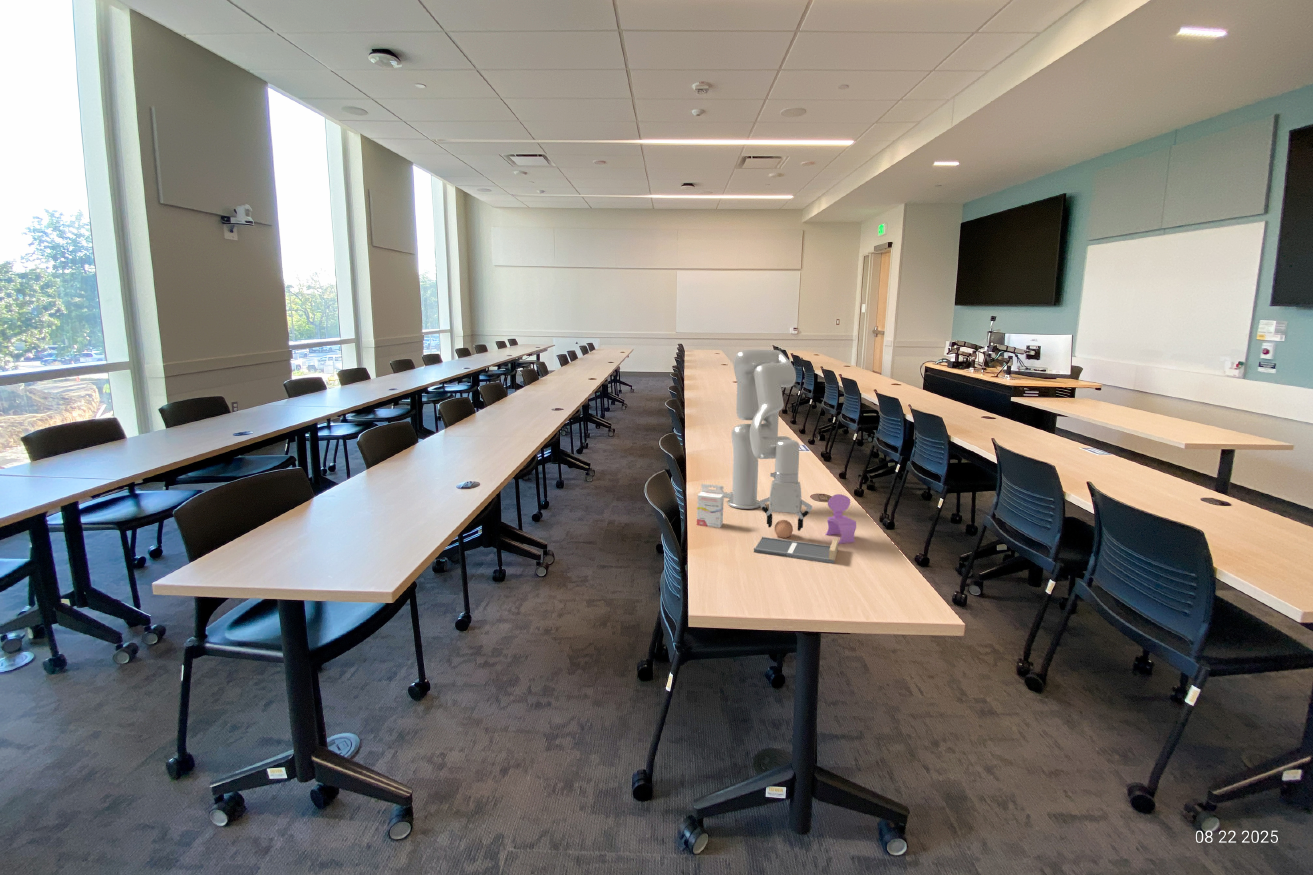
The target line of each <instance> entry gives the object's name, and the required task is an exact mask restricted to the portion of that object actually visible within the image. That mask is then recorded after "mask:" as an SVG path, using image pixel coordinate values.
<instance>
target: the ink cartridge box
mask: <svg viewBox="0 0 1313 875" xmlns="http://www.w3.org/2000/svg"><path fill="white" fill-rule="evenodd" d="M700 486H701V489H700V490H701V491H700V492H698V494H697V502H696V503H697V507H696V526H700V527H701V526H703V527H710V528H718V529H719V528H721V527H722V526H723V523H724V500H725V498H724V494H723V492H724V485H721V484H720V485H719V484H718V485H717V484H711V483H710V484H709V483H701V485H700ZM711 488H713V489H711Z"/></svg>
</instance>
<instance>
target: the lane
mask: <svg viewBox="0 0 1313 875" xmlns="http://www.w3.org/2000/svg"><path fill="white" fill-rule="evenodd" d="M838 543H839V538H838V537H833V539H832V541H831V544H830V545H827V544H821V543H819V544H818V543H813V542H803V541H796V540H790V539H784V538H783V539H782V538H774V537H767V536H761V539H760V540H759V542H758V543H757V545H756V546H755V547H754V548H753V553H758V554H764V555H770V556H771V555H772V556H778V557H786V558H791V559H792V558H793V559H799V560H806V561H811V562H818V563H819V562H821V563H827V564H832V565H833V564H834V563H835V561H836V557H837V553H838V550H839V544H838Z"/></svg>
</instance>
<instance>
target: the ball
mask: <svg viewBox="0 0 1313 875" xmlns="http://www.w3.org/2000/svg"><path fill="white" fill-rule="evenodd" d="M793 528H794V527H793V524H792V523H791V522H790V521H788V520H786V519H780V520H778V521H777V522H776V523H775V525H774V533H775V534H776V535H777V537H778V538H781V539H782V538H783V539H785V538H789V537H790V536H791V535H792V534H793V532H794V529H793Z"/></svg>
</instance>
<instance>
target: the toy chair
mask: <svg viewBox="0 0 1313 875" xmlns="http://www.w3.org/2000/svg"><path fill="white" fill-rule="evenodd" d="M850 505H851V498H850V497H848V496H846V495H844V494H841V493H840V494H839V493H836V494H834V495H832V496H831V497H830V498H829V499H828V501H827V506H828V508H829V509H831V511H833V516H828V517H827V520H826V521H827V527H828V528H827V531H826V533H825V536H830V535H841V536H840V539H839V540H838V545H840V544H849V543H855V532H856V529H857V521H856V520H854V519H851V518H850V517H848V516H846V515H843V513H844V512H845V511H847V510H848V509H849V507H850Z"/></svg>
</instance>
